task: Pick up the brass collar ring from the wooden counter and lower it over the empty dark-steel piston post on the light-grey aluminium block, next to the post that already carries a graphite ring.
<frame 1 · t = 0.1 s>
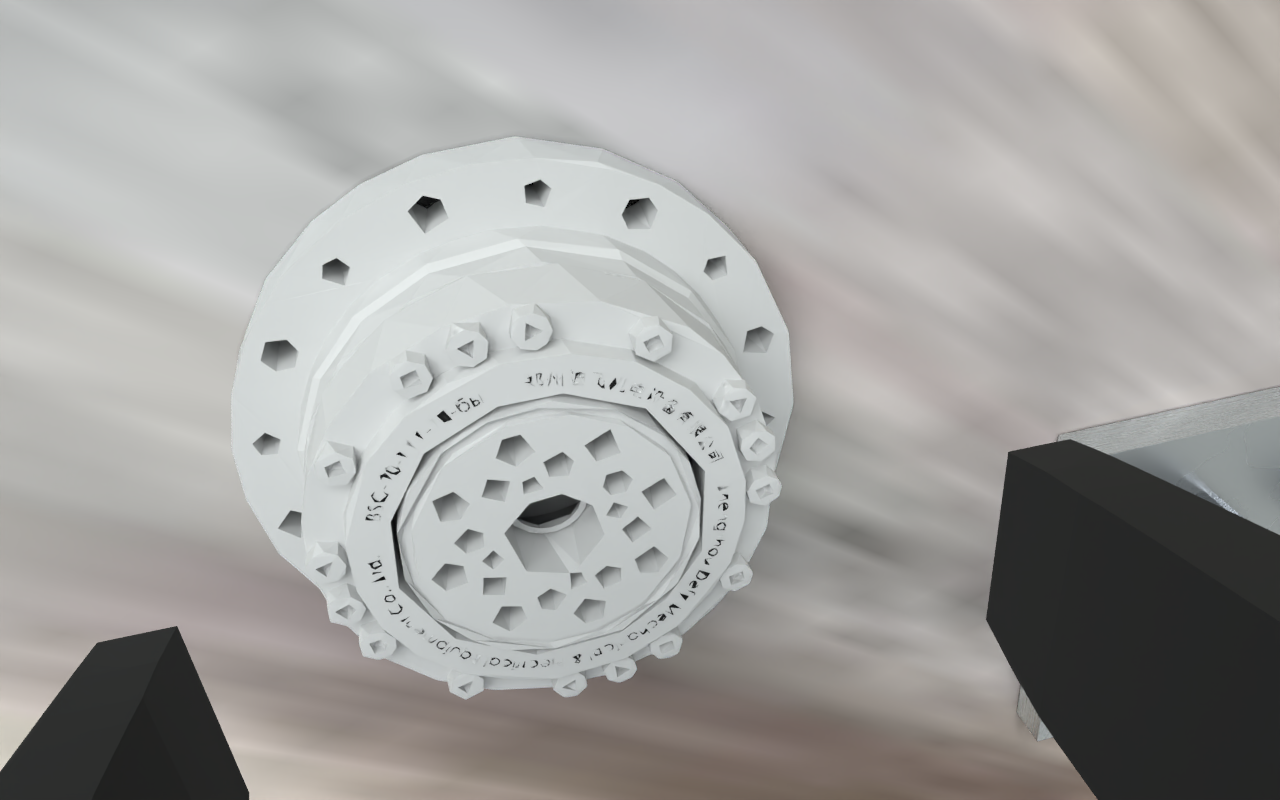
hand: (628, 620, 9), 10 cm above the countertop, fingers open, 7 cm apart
piston block: (1235, 538, 26), on the countertop
mechanical component: (518, 387, 20), on the countertop
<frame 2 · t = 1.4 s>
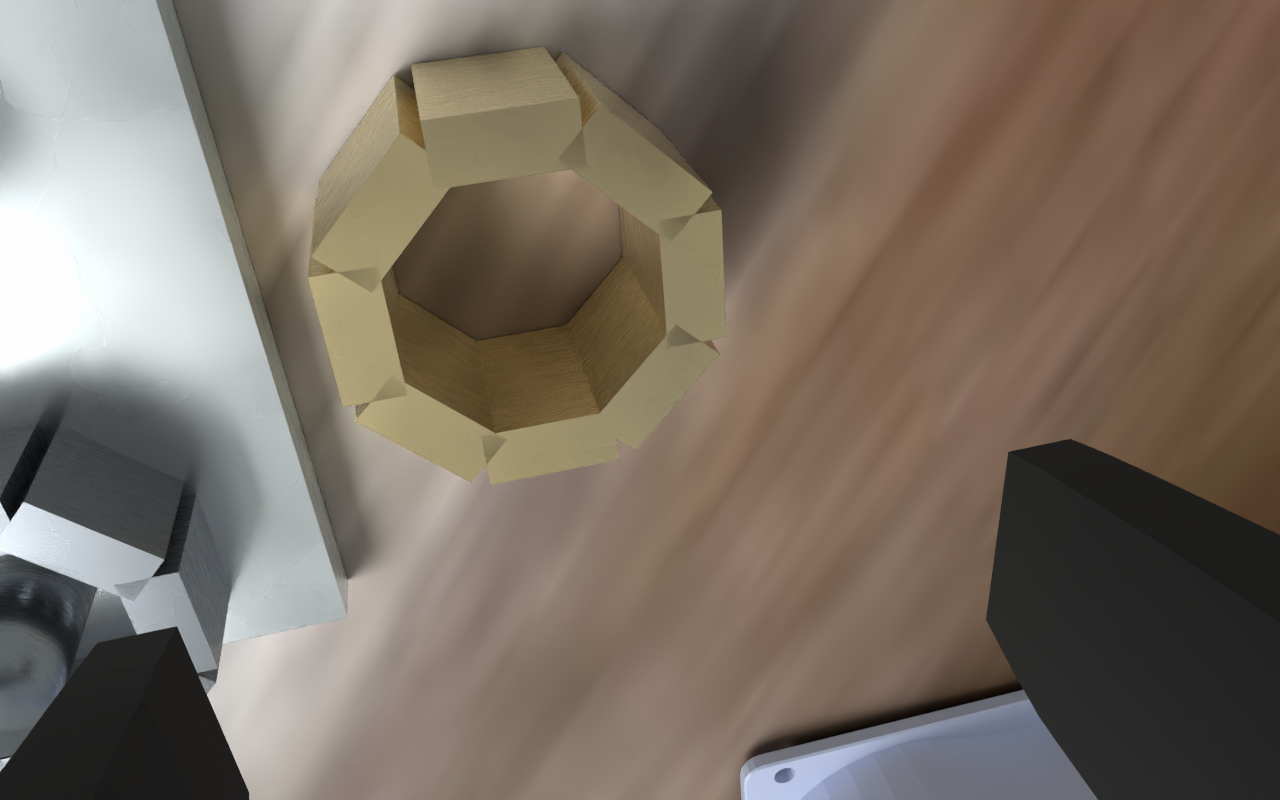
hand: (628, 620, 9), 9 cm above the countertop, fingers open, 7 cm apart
brass ring: (505, 230, 17), on the countertop
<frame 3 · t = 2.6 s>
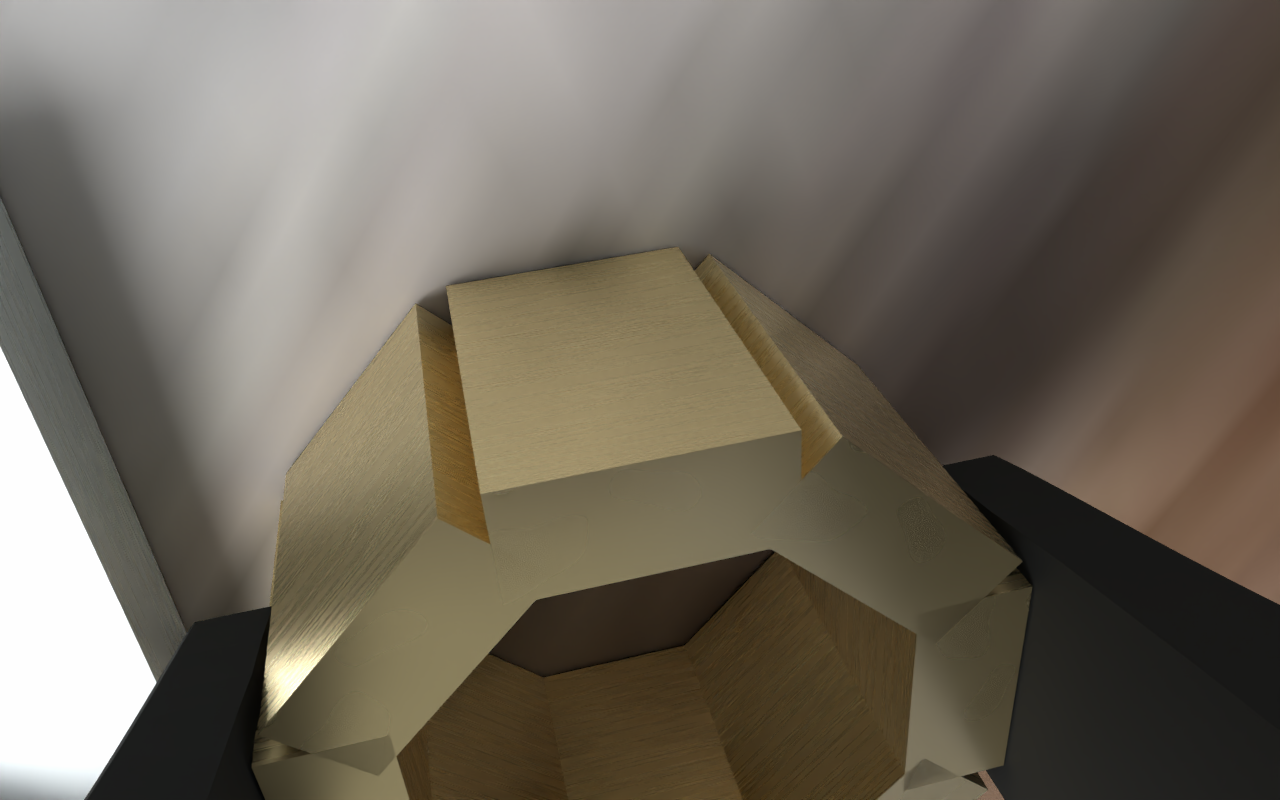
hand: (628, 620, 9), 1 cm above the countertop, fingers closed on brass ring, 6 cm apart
brass ring: (597, 524, 10), on the countertop, touching gripper
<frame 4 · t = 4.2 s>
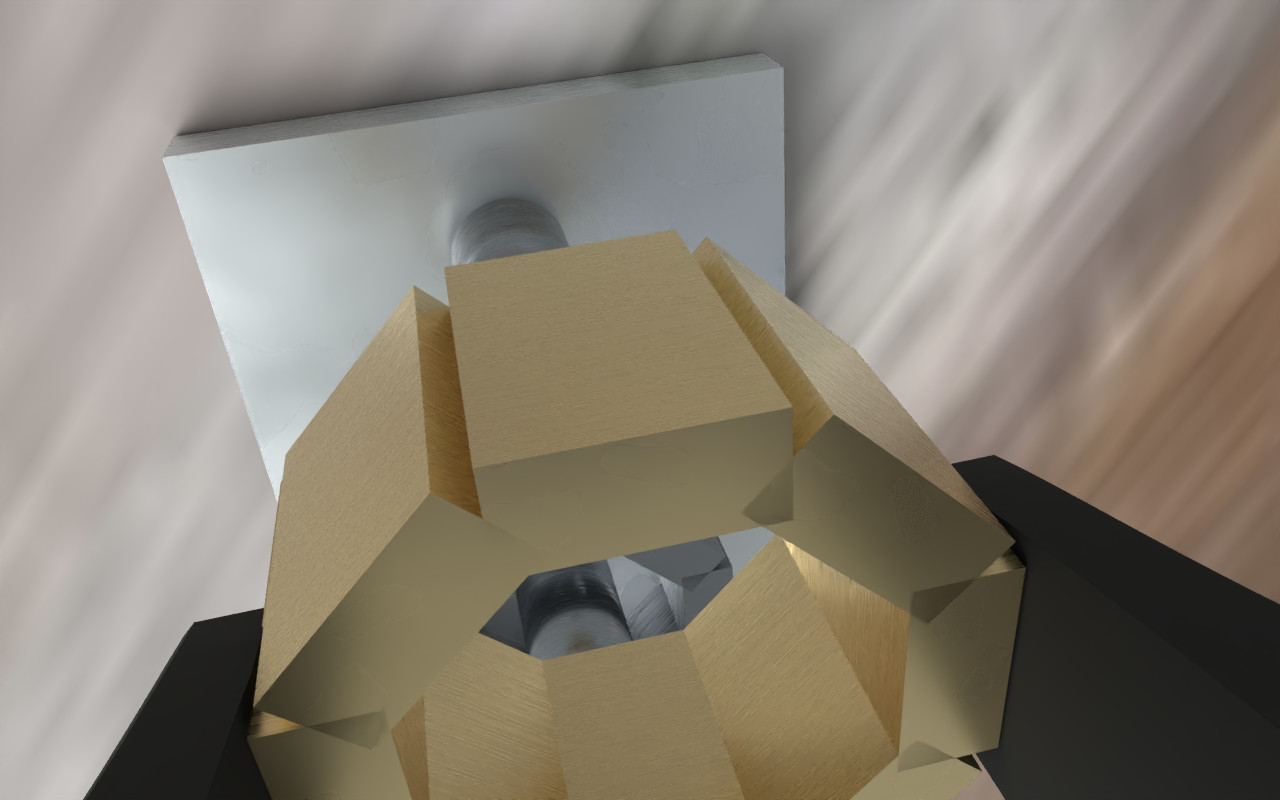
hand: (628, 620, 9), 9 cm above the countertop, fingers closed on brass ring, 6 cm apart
brass ring: (595, 507, 10), point 8 cm above the countertop, touching gripper
piston block: (529, 398, 19), on the countertop
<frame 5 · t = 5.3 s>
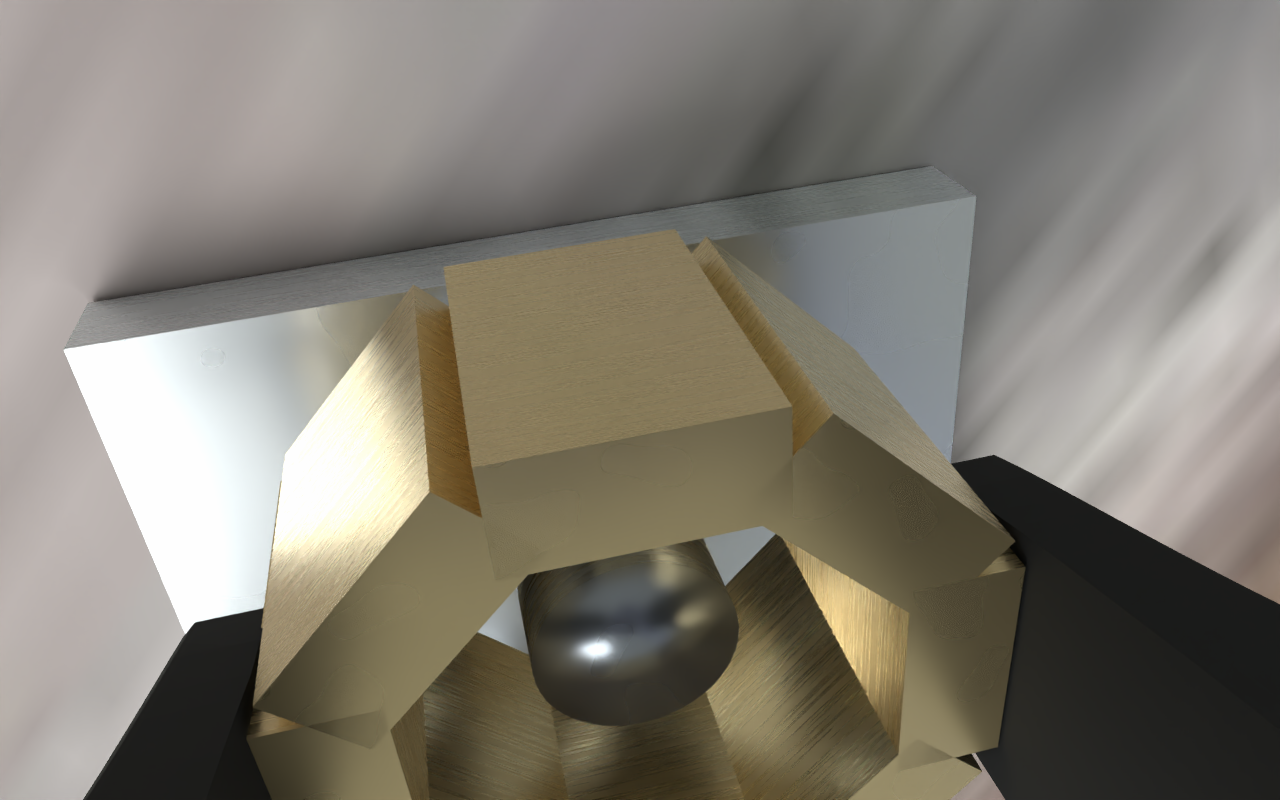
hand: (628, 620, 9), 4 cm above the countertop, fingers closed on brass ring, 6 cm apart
brass ring: (595, 507, 10), point 2 cm above the countertop, touching gripper
piston block: (590, 613, 14), on the countertop
when the fingers open (4 cm above the countertop, at t = 5.8 s): brass ring drops 1 cm, resting on piston block.
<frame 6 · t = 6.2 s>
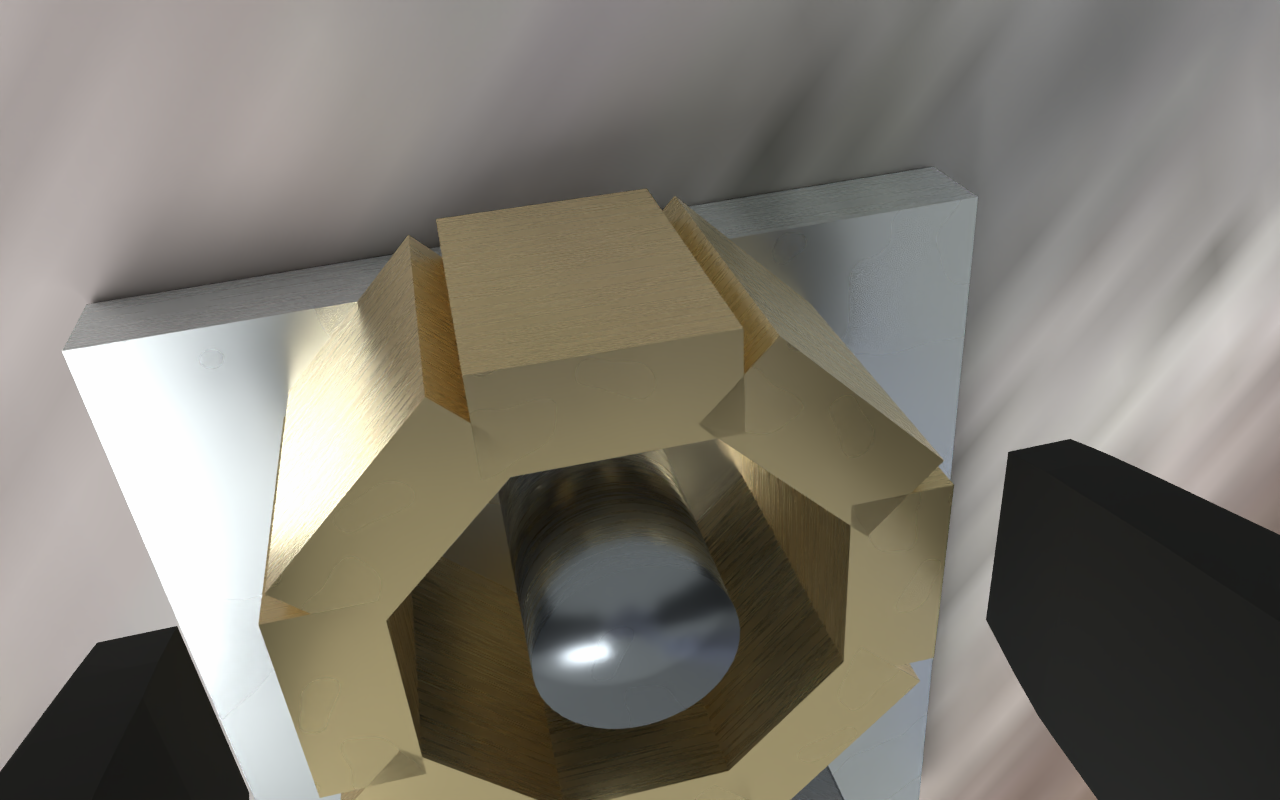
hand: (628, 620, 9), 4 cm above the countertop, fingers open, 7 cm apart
brass ring: (572, 449, 11), point 1 cm above the countertop, touching piston block
piston block: (590, 615, 14), on the countertop
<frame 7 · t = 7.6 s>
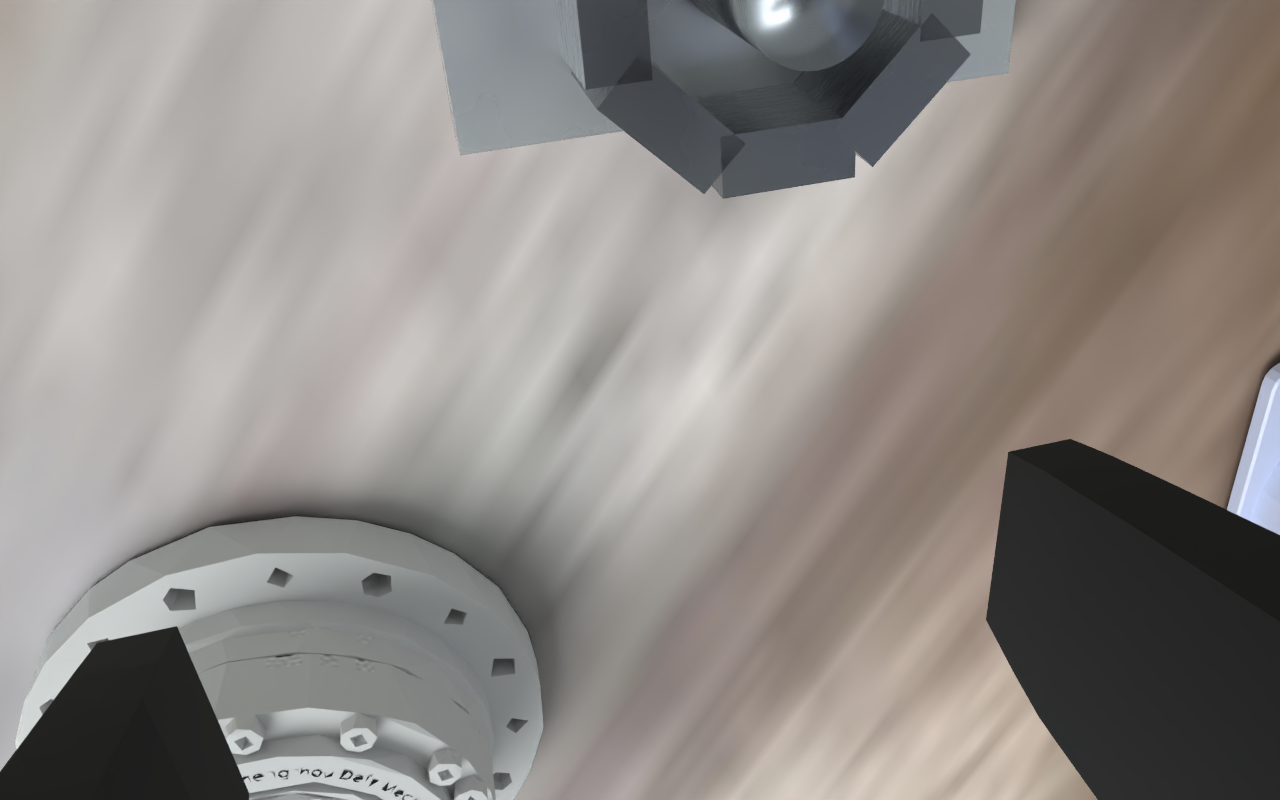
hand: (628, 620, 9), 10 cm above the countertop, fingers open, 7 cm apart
mechanical component: (300, 689, 22), on the countertop
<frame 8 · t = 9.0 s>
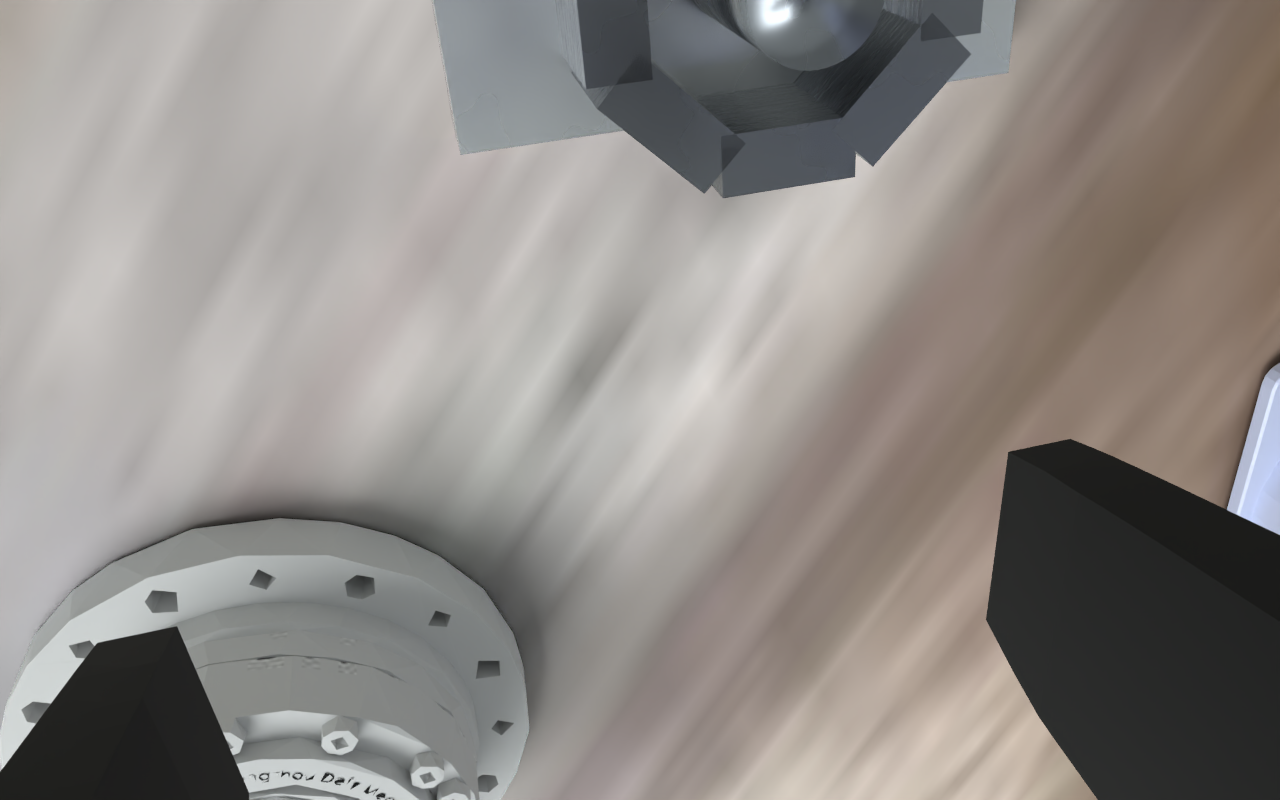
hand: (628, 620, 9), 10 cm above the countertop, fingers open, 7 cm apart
mechanical component: (286, 691, 22), on the countertop
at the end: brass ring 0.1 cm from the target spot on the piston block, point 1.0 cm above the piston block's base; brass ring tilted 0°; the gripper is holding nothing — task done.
